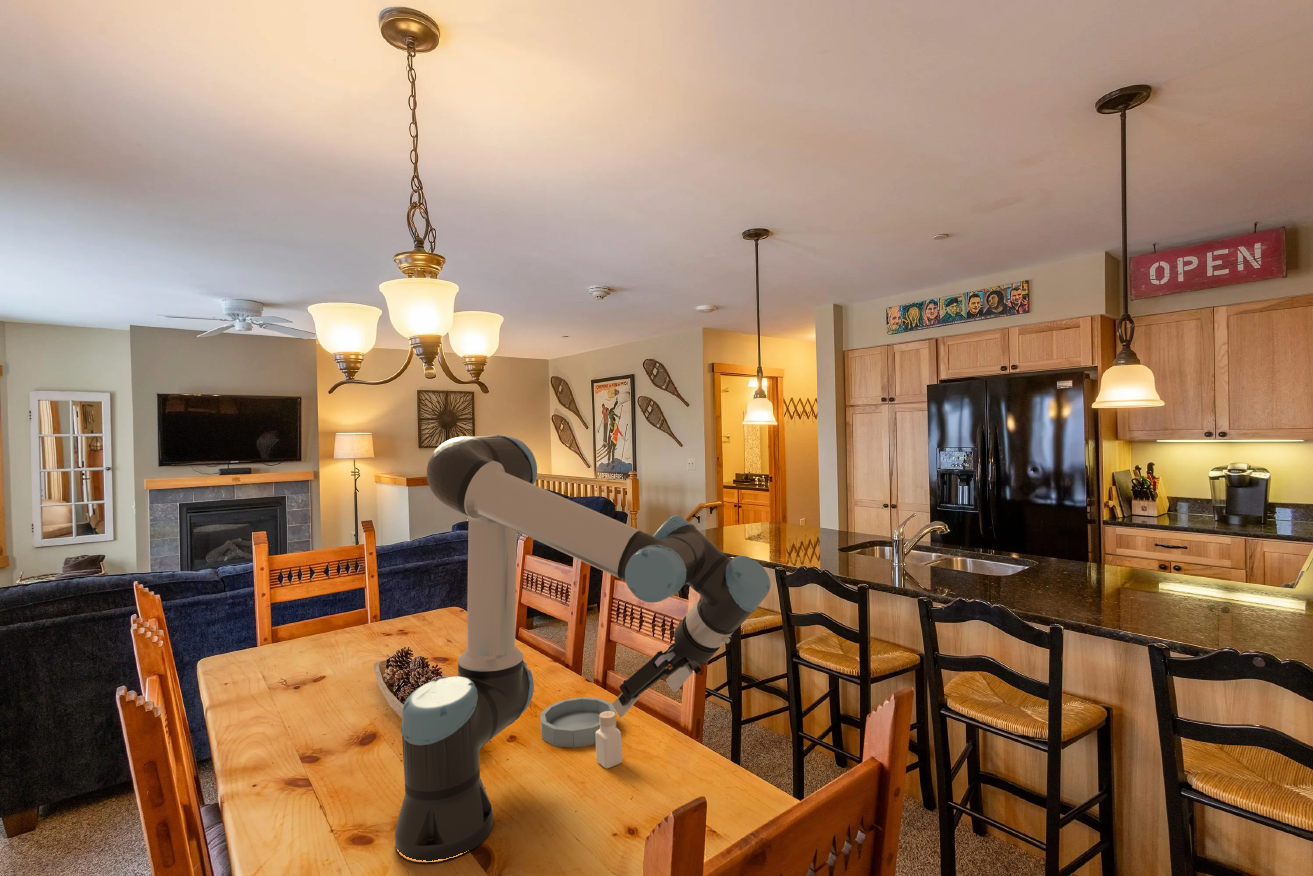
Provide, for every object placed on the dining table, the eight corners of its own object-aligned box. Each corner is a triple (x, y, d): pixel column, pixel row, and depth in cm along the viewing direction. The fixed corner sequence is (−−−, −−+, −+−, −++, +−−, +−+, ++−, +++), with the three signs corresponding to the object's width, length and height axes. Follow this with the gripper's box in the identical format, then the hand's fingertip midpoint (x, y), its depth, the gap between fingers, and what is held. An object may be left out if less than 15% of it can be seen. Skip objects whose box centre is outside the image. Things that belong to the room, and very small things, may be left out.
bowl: (571, 755, 126) (571, 737, 126) (526, 731, 137) (526, 715, 137) (630, 726, 137) (629, 710, 137) (584, 706, 148) (583, 691, 148)
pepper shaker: (606, 770, 120) (603, 721, 120) (595, 762, 123) (593, 713, 123) (623, 763, 122) (621, 714, 122) (612, 755, 125) (610, 708, 125)
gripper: (663, 672, 93) (603, 742, 104) (761, 630, 111) (701, 693, 122) (637, 630, 97) (581, 702, 108) (736, 595, 115) (680, 660, 125)
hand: (645, 697), depth 115 cm, fingers open, 13 cm apart
